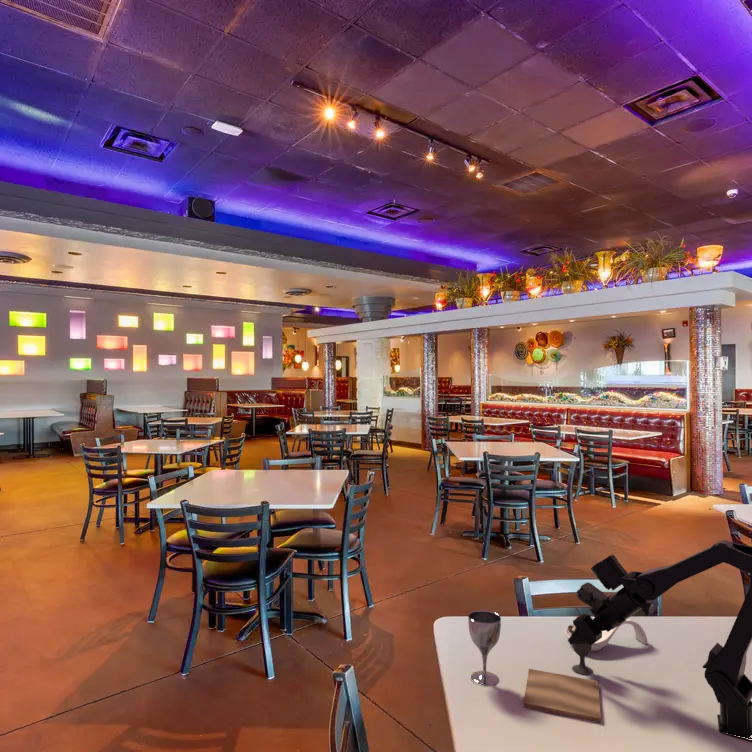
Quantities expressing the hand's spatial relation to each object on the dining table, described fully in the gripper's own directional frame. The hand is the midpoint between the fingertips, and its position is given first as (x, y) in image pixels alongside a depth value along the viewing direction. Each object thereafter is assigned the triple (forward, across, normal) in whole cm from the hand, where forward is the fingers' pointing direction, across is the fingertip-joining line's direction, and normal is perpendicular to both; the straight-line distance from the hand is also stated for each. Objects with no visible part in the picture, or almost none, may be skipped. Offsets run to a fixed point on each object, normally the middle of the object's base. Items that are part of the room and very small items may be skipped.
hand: (577, 636), depth 135 cm
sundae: (+5, 0, +7) cm, 8 cm away
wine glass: (+15, +22, -4) cm, 27 cm away
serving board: (+3, +15, +8) cm, 17 cm away
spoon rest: (+7, -19, +5) cm, 21 cm away
